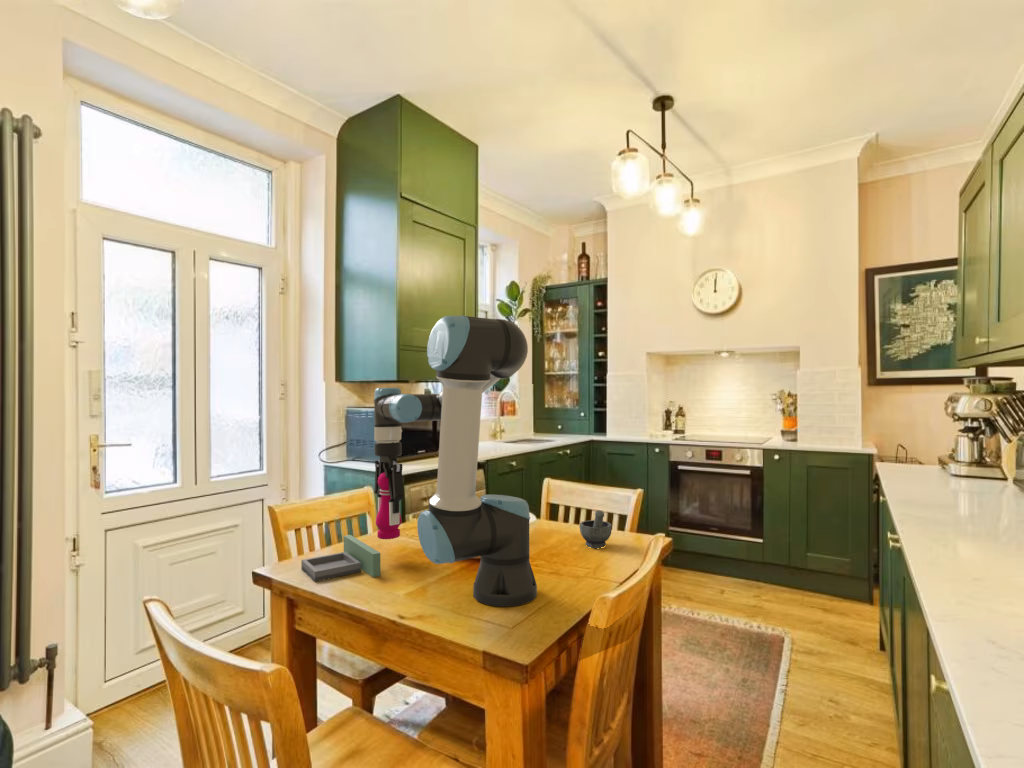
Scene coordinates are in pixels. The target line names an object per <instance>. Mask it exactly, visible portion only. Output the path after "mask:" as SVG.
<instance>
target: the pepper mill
mask: <svg viewBox="0 0 1024 768" xmlns="http://www.w3.org/2000/svg"><path fill="white" fill-rule="evenodd" d="M378 485H379V486H380V488H381V489H380V490H379V491H380V493H379V494H380V495H381V506H380V509H379V512H378V511H377V514H376V517H375V526H376V527H377V528H378V530H377V539H380V540H392V539H397V538H399V537H400V536H401V529H400V528H399V527H400V526H401V524H402V515H401V514H400V524H397V525H391V526H390V525H389V500H391V498H390V491H389V485H388V478H386V477H385V472H384V473H382V474H380V476H379V477H378Z"/></svg>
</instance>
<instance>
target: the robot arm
mask: <svg viewBox="0 0 1024 768" xmlns="http://www.w3.org/2000/svg"><path fill="white" fill-rule="evenodd" d="M528 346H529V345H528V341H527V338H526V336H525V334H524V331H522V330H521V328H520V327H519V326H518V325H516V324H515V323H513V322H511V321H509V320H506V319H504V318H503V319H502V318H488V317H478V316H477V317H476V316H467V315H463V314H462V315H445V316H442V317H441V318H440V319H439V320H438V321H436V323H435V324H434V326H433V327H432V329H431V332H430V334H429V337H428V341H427V348H426V356H427V358H428V360H427V361H428V365H429V367H430V368H431V369H433V370H435V371H436V379H437V380H438V382H439V383H440V384H441V385H442V390H441V391H440V392H439V393H402V391H401V389H400V388H399V387H377V388H376V389H374V398H373V403H374V404H373V406H374V408H373V409H374V427H373V428H374V430H373V431H374V432H373V433H374V436H373V438H374V439H373V440H374V442H375V443H374V455H375V456H376V457H379V459H378V460H375V461H374V466H375V471H374V472H375V473H374V474H375V475H374V495H375V494H376V496H377V513H378V512H379V509H380V506H381V495H380V494H379V493H380V491H379V490H380V489H381V488H380V486H379V485H378V477H379V476H380V474H382V473H384V472H385V477H386V478H388V485H389V491H390V498H391V500H389V525H390V526H391V525H397V524H400V515H401V513H400V501H402V500H404V484H403V483H404V481H403V463H398V458H397V457H398V456H401V455H402V447H403V445H402V442H401V440H402V432H403V429H402V424H404V423H405V424H406V423H412V422H428V421H429V422H430V421H431V422H434V421H438V422H439V421H440V429H439V444H438V445H439V446H438V447H439V448H438V459H437V460H438V461H437V480H436V492H435V493H434V494H433V495H432V496H431V497H430V498H429V500H428V510H427V509H426V510H424V511H421V512H420V513H419V515H418V517H417V521H416V524H417V526H416V527H417V529H416V530H417V535H418V541H419V544H420V546H421V549H422V550H423V551H422V552H423V553H424V555H425V557H426V558H427V559H428V560H429V561H430V562H432V563H433V564H435V565H442V564H454V563H455V562H460V561H464V560H469V559H474V558H478V557H480V562H479V567H478V569H477V572H476V575H475V576H476V577H475V581H474V582H473V587H472V589H473V591H472V593H473V595H472V596H473V598H474V599H475V600H476V601H477V602H479V603H481V604H484V605H487V606H493V607H516V606H521V605H525V604H528V603H530V602H532V601H534V600H535V599H536V597H538V596H537V595H538V584H537V581H536V577H535V574H534V571H533V568H532V565H531V561H530V520H531V516H530V506H529V503H528V501H527V500H525V499H523V498H520V497H518V496H516V497H515V496H511V495H506V494H484V495H481V496H480V497H478V495H477V493H476V491H477V490H476V489H477V476H478V475H477V473H478V459H479V458H478V457H479V448H480V447H479V446H480V445H479V444H480V433H481V432H480V428H481V418H482V417H481V412H482V397H483V393H485V392H486V391H488V389H490V388H491V387H492V386H494V385H495V384H496V383H497V382H498V381H500V380H506V379H509V378H510V377H512V376H513V375H514V374H516V373H517V372H518V371H519V370H520V369H521V368H522V367H523V365H524V364H525V362H526V359H527V357H528V354H529V353H528V351H529V350H528V349H529V347H528ZM400 525H401V524H400Z"/></svg>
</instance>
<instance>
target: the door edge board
mask: <svg viewBox="0 0 1024 768" xmlns="http://www.w3.org/2000/svg"><path fill="white" fill-rule="evenodd" d="M343 552H346V553H348V554H349V555H350V556H352V557H353V558H355V559H356V560H358V561H359V562H361V571H364V573H366V574H368V575H369V576H370V577H371V578H377V576H378V577H381V552H379V551H378V550H376V549H375V548H373V547H372V546H370V545H369V544H367V543H365V542H363V541H362V540H360V539H358V538H357V537H355V536H354V535H352V534H347V535H343Z"/></svg>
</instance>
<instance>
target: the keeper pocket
mask: <svg viewBox="0 0 1024 768" xmlns="http://www.w3.org/2000/svg"><path fill="white" fill-rule="evenodd" d="M300 561H301V571H302V572H304V573H305V574H306V575H307V576H308V577H309V576H310V577H311V578H312V579H313V580H312V579H311V578H310V577H309V578H310V579H311V580H312V581H313V582H315V581H316V582H320V581H319V580H321V581H324V580H323V579H326V580H329V579H328V578H330V579H334V578H333V577H335V578H339V577H338V576H340V577H343V575H344V576H349V575H353V573H354V574H358V572H359V573H361V572H362V569H361V562H359V561H358V560H356V559H355V558H353V557H352V556H350V555H349V554H348V553H346V552H344V551H342V552H336V553H331V554H326V555H325V554H324V555H321V556H316V557H311V558H305V559H301V560H300ZM348 574H349V575H348Z"/></svg>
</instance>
